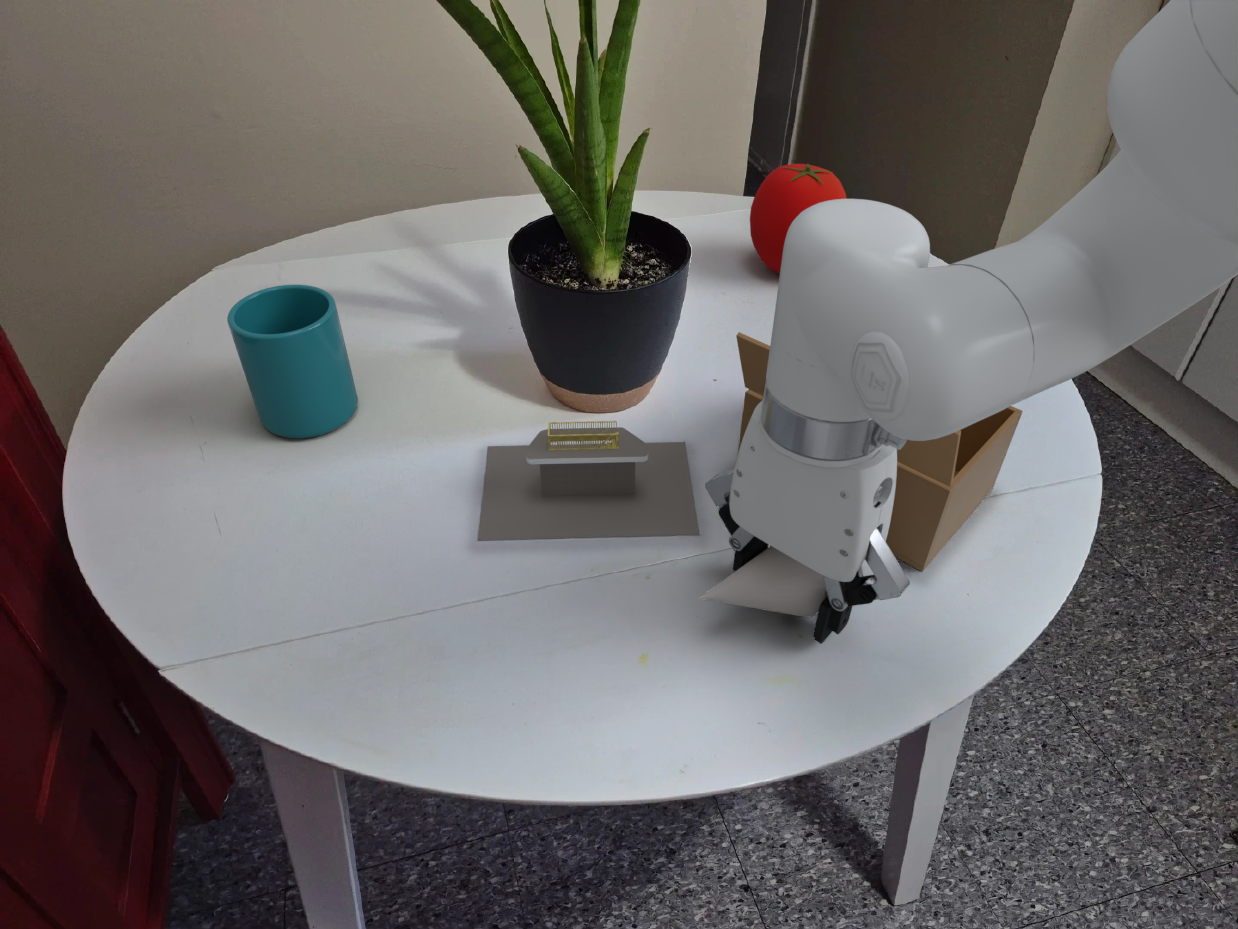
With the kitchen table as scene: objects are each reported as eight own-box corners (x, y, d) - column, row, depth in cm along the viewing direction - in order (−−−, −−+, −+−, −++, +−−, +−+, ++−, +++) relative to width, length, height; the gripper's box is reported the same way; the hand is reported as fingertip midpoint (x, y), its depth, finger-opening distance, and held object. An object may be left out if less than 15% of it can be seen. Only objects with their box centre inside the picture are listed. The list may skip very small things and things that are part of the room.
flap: (961, 430, 57) (958, 435, 57) (953, 482, 62) (950, 486, 62) (739, 331, 66) (735, 335, 66) (747, 383, 71) (744, 387, 71)
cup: (371, 366, 89) (349, 266, 81) (350, 440, 80) (323, 335, 72) (281, 369, 88) (251, 268, 81) (249, 443, 79) (213, 338, 72)
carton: (992, 489, 75) (1023, 410, 70) (922, 571, 68) (950, 491, 62) (814, 405, 84) (828, 329, 79) (735, 470, 77) (745, 391, 71)
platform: (488, 446, 79) (481, 387, 75) (685, 441, 80) (689, 383, 75) (477, 540, 70) (469, 479, 66) (699, 534, 71) (705, 474, 66)
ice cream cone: (682, 635, 63) (846, 595, 69) (727, 649, 57) (901, 603, 63) (671, 551, 62) (836, 518, 69) (715, 557, 57) (890, 520, 63)
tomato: (731, 252, 108) (742, 150, 100) (812, 243, 110) (829, 142, 102) (765, 297, 100) (779, 190, 91) (851, 286, 102) (873, 180, 93)
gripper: (988, 441, 50) (918, 637, 62) (744, 334, 59) (723, 524, 71) (927, 507, 46) (864, 704, 58) (674, 381, 55) (664, 574, 66)
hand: (787, 603), depth 64 cm, fingers closed on ice cream cone, 6 cm apart
